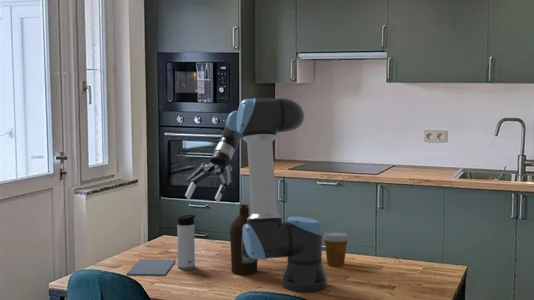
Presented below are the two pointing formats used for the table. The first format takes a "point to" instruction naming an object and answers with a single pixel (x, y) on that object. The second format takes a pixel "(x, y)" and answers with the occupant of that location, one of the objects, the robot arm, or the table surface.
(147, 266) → the rubber mat
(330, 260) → the disposable coffee cup
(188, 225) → the travel mug
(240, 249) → the olive oil
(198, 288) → the table surface
